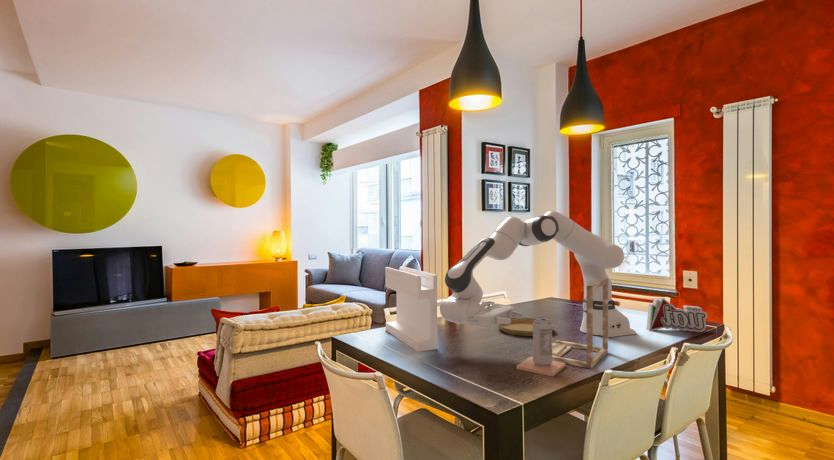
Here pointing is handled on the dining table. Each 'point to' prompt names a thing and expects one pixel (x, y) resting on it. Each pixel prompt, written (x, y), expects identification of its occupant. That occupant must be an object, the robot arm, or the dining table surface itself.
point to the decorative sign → (675, 317)
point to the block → (414, 307)
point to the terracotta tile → (550, 370)
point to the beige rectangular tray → (559, 349)
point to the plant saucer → (519, 326)
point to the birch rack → (590, 331)
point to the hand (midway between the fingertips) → (516, 318)
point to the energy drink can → (542, 342)
